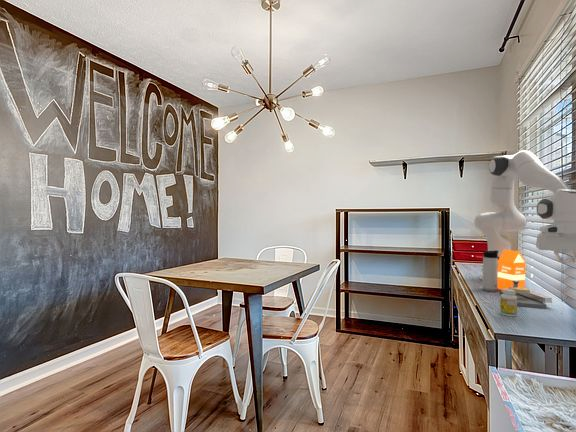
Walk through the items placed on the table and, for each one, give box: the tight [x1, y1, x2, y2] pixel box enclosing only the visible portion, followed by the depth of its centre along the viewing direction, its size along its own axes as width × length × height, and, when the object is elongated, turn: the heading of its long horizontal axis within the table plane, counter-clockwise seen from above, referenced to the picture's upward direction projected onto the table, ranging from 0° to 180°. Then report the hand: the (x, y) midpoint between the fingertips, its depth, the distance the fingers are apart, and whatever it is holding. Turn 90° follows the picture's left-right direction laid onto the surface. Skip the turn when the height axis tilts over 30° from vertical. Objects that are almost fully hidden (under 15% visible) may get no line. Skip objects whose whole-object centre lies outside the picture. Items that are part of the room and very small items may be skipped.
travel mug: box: [482, 250, 499, 293], centre depth 168 cm, size 6×7×20 cm
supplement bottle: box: [499, 289, 518, 317], centre depth 130 cm, size 5×5×10 cm
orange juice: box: [497, 249, 526, 290], centre depth 170 cm, size 8×9×20 cm
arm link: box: [511, 280, 553, 304], centre depth 150 cm, size 21×4×5 cm, turn 4°
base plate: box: [499, 289, 547, 310], centre depth 151 cm, size 23×12×2 cm, turn 159°
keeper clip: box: [509, 287, 531, 296], centre depth 149 cm, size 4×7×4 cm, turn 69°
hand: (566, 262), depth 139 cm, fingers open, 3 cm apart
